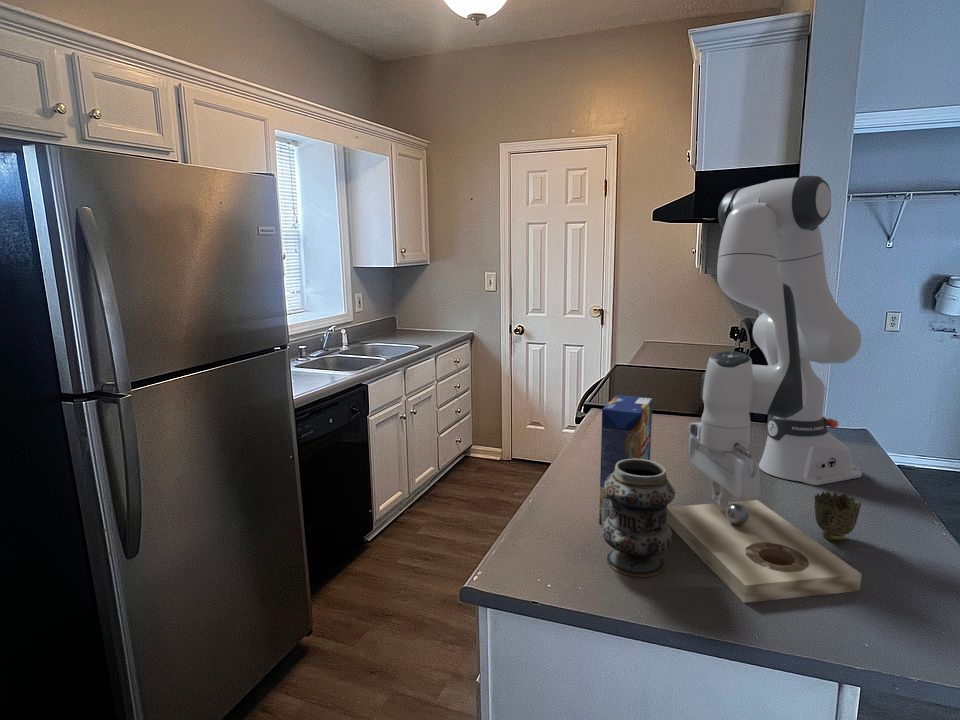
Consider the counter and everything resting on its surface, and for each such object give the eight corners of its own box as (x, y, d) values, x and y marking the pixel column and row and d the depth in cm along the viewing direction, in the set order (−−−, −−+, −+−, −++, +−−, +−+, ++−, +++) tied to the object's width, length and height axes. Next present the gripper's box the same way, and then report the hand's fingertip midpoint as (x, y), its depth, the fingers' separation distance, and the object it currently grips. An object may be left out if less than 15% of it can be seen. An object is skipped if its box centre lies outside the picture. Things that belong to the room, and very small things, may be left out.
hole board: (756, 513, 121) (757, 500, 121) (859, 590, 94) (861, 574, 94) (664, 521, 119) (665, 507, 118) (743, 602, 92) (745, 585, 91)
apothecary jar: (685, 574, 100) (691, 475, 96) (622, 587, 96) (626, 484, 93) (646, 541, 111) (650, 451, 108) (588, 551, 108) (590, 458, 104)
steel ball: (740, 518, 113) (741, 499, 112) (752, 528, 109) (754, 508, 108) (721, 520, 113) (722, 500, 112) (732, 529, 109) (734, 509, 108)
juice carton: (636, 531, 115) (641, 413, 110) (599, 523, 118) (602, 409, 114) (648, 506, 125) (652, 398, 121) (613, 500, 129) (616, 394, 124)
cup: (803, 529, 115) (806, 490, 113) (841, 529, 114) (845, 490, 113) (823, 548, 107) (828, 508, 106) (865, 548, 107) (869, 507, 106)
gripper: (772, 453, 104) (766, 525, 106) (713, 420, 124) (709, 481, 126) (739, 455, 103) (734, 528, 106) (684, 421, 123) (681, 483, 126)
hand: (720, 502), depth 116 cm, fingers closed
